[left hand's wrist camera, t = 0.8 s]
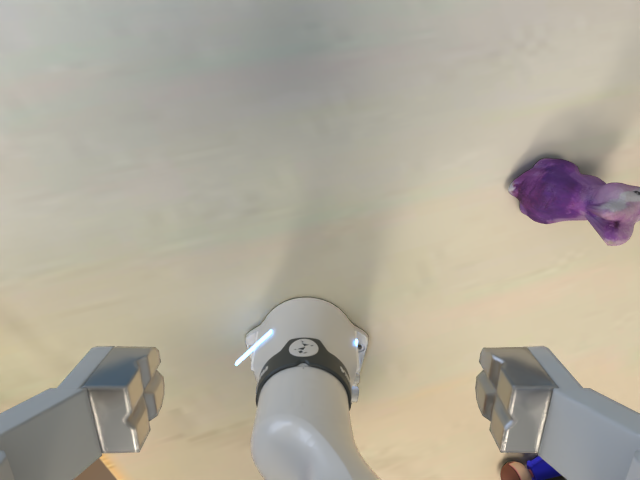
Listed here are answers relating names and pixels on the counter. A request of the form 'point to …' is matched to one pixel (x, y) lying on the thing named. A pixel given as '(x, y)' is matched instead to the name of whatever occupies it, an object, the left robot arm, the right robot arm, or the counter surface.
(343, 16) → the counter surface
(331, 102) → the counter surface
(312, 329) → the left robot arm
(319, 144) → the counter surface
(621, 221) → the figurine
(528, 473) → the figurine character
